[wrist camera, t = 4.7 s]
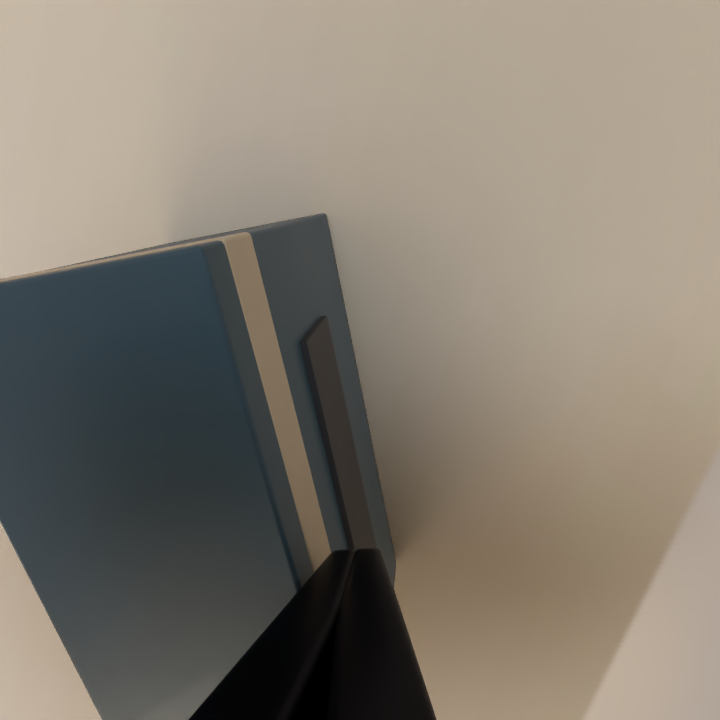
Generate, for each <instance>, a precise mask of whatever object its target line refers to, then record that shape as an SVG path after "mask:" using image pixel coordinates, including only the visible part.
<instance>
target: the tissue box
mask: <svg viewBox="0 0 720 720" xmlns="http://www.w3.org/2000/svg"><path fill="white" fill-rule="evenodd" d="M0 522H1V524H2V526H3V528H4V530H5V532H6V534H7V535H8V537H9V539H10V541H11V543H12V545H13V547H14V549H15V551H16V553H17V555H18V557H19V559H20V561H21V563H22V565H23V567H24V569H25V571H26V572H27V574H28V576H29V578H30V580H31V582H32V584H33V586H34V588H35V590H36V592H37V594H38V596H39V598H40V600H41V602H42V604H43V606H44V607H45V609H46V611H47V613H48V615H49V617H50V619H51V621H52V623H53V625H54V627H55V629H56V631H57V633H58V635H59V637H60V639H61V641H62V643H63V644H64V646H65V648H66V650H67V652H68V654H69V656H70V658H71V660H72V662H73V664H74V666H75V668H76V670H77V672H78V674H79V676H80V678H81V679H82V681H83V683H84V685H85V687H86V689H87V691H88V693H89V695H90V697H91V699H92V701H93V703H94V705H95V707H96V709H97V711H98V713H99V714H100V716H101V718H102V720H188V719H189V718H190V717H191V716H192V715H193V714H194V712H195V711H196V710H197V709H198V708H199V707H200V705H201V704H202V703H203V702H204V701H205V700H206V698H207V697H208V696H209V695H210V694H211V693H212V691H213V690H214V689H215V688H216V687H217V686H218V684H219V683H220V682H221V681H222V680H223V678H224V677H225V676H226V675H227V674H228V673H229V671H230V670H231V669H232V668H233V667H234V666H235V664H236V663H237V662H238V661H239V660H240V659H241V657H242V656H243V655H244V654H245V653H246V652H247V650H248V649H249V648H250V647H251V646H252V645H253V643H254V642H255V641H256V640H257V639H258V638H259V636H260V635H261V634H262V633H263V632H264V631H265V629H266V628H267V627H268V626H269V625H270V624H271V622H272V621H273V620H274V619H275V618H276V617H277V615H278V614H279V613H280V612H281V611H282V610H283V608H284V607H285V606H286V605H287V604H288V603H289V601H290V600H291V599H292V598H293V597H294V595H295V594H296V593H297V592H298V591H299V590H300V588H301V587H302V586H303V585H304V584H305V583H306V581H307V580H308V579H309V578H310V577H311V576H312V574H313V573H314V572H315V571H316V570H317V569H318V567H319V566H320V565H321V564H322V563H323V562H324V560H325V559H326V558H327V557H328V556H329V555H330V553H332V552H333V551H335V550H345V549H356V550H358V549H361V548H376V547H377V548H380V549H381V551H382V554H383V557H384V560H385V563H386V566H387V569H388V572H389V575H390V578H391V581H392V585H393V588H394V581H395V569H396V560H395V555H394V550H393V545H392V540H391V535H390V530H389V525H388V520H387V515H386V510H385V505H384V500H383V495H382V490H381V485H380V480H379V475H378V470H377V465H376V460H375V455H374V450H373V445H372V440H371V435H370V430H369V425H368V420H367V415H366V410H365V405H364V400H363V395H362V390H361V385H360V380H359V375H358V370H357V365H356V360H355V355H354V350H353V345H352V340H351V335H350V330H349V325H348V320H347V315H346V310H345V305H344V300H343V295H342V290H341V285H340V280H339V276H338V271H337V266H336V261H335V256H334V251H333V246H332V241H331V236H330V231H329V226H328V221H327V216H326V214H324V213H323V214H318V215H313V216H307V217H302V218H297V219H292V220H287V221H282V222H277V223H271V224H266V225H261V226H256V227H251V228H246V229H240V230H235V231H230V232H225V233H220V234H215V235H210V236H204V237H199V238H194V239H189V240H184V241H179V242H174V243H168V244H164V245H159V246H154V247H150V248H145V249H141V250H136V251H132V252H127V253H123V254H118V255H113V256H109V257H104V258H100V259H95V260H91V261H86V262H81V263H77V264H72V265H68V266H63V267H59V268H54V269H49V270H45V271H40V272H35V273H30V274H25V275H19V276H14V277H9V278H4V279H0Z"/></svg>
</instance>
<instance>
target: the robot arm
mask: <svg viewBox="0 0 720 720" xmlns="http://www.w3.org/2000/svg"><path fill="white" fill-rule="evenodd" d="M188 720H436V717H435V714H434V710H433V707H432V704H431V701H430V698H429V695H428V692H427V689H426V686H425V683H424V680H423V677H422V674H421V671H420V667H419V664H418V661H417V658H416V655H415V652H414V649H413V646H412V643H411V640H410V637H409V634H408V631H407V628H406V624H405V621H404V618H403V615H402V612H401V609H400V606H399V603H398V600H397V597H396V594H395V591H394V588H393V585H392V581H391V578H390V575H389V572H388V569H387V566H386V563H385V560H384V557H383V554H382V551H381V549H380V548H377V547H376V548H361V549H358V550H356V549H345V550H335V551H333V552H332V553H330V555H329V556H328V557H327V558H326V559H325V560H324V562H323V563H322V564H321V565H320V566H319V567H318V569H317V570H316V571H315V572H314V573H313V574H312V576H311V577H310V578H309V579H308V580H307V581H306V583H305V584H304V585H303V586H302V587H301V588H300V590H299V591H298V592H297V593H296V594H295V595H294V597H293V598H292V599H291V600H290V601H289V603H288V604H287V605H286V606H285V607H284V608H283V610H282V611H281V612H280V613H279V614H278V615H277V617H276V618H275V619H274V620H273V621H272V622H271V624H270V625H269V626H268V627H267V628H266V629H265V631H264V632H263V633H262V634H261V635H260V636H259V638H258V639H257V640H256V641H255V642H254V643H253V645H252V646H251V647H250V648H249V649H248V650H247V652H246V653H245V654H244V655H243V656H242V657H241V659H240V660H239V661H238V662H237V663H236V664H235V666H234V667H233V668H232V669H231V670H230V671H229V673H228V674H227V675H226V676H225V677H224V678H223V680H222V681H221V682H220V683H219V684H218V686H217V687H216V688H215V689H214V690H213V691H212V693H211V694H210V695H209V696H208V697H207V698H206V700H205V701H204V702H203V703H202V704H201V705H200V707H199V708H198V709H197V710H196V711H195V712H194V714H193V715H192V716H191V717H190V718H189V719H188Z"/></svg>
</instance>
